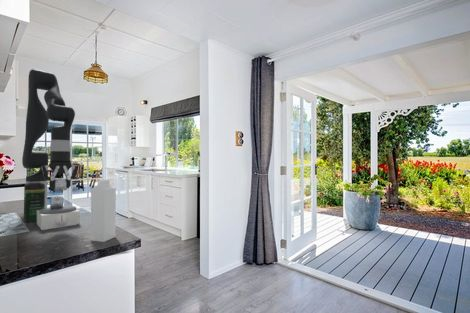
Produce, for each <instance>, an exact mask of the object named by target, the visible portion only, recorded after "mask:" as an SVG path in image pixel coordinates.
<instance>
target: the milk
mask: <svg viewBox="0 0 470 313" xmlns="http://www.w3.org/2000/svg"><path fill="white" fill-rule="evenodd" d="M116 191H117V188H116V187H115V186H114V185H112V184H111V183H110V179H104V180H98V181H97V185H95V187H93V188H91V189H90V241H92V242H100V243H105V242H107V241H110V240H111V239H114V238H116V215H117V214H116V212H117V211H116V208H117V207H116V206H117V204H116V203H117V202H116V200H117V192H116Z"/></svg>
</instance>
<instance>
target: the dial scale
mask: <svg viewBox="0 0 470 313" xmlns="http://www.w3.org/2000/svg"><path fill="white" fill-rule="evenodd" d="M77 224H78V225H80V224H81V211H80V210H79V209H77V207H76V206H73V205H63V208H59V209H50V206H49V207H47V208H44V209H41V210H37V222H36V225H37V226H38V227H39V228H40V230H41V231H45V230H51V229H57V228H59V229H60V228H65V227H70V226H77Z"/></svg>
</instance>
